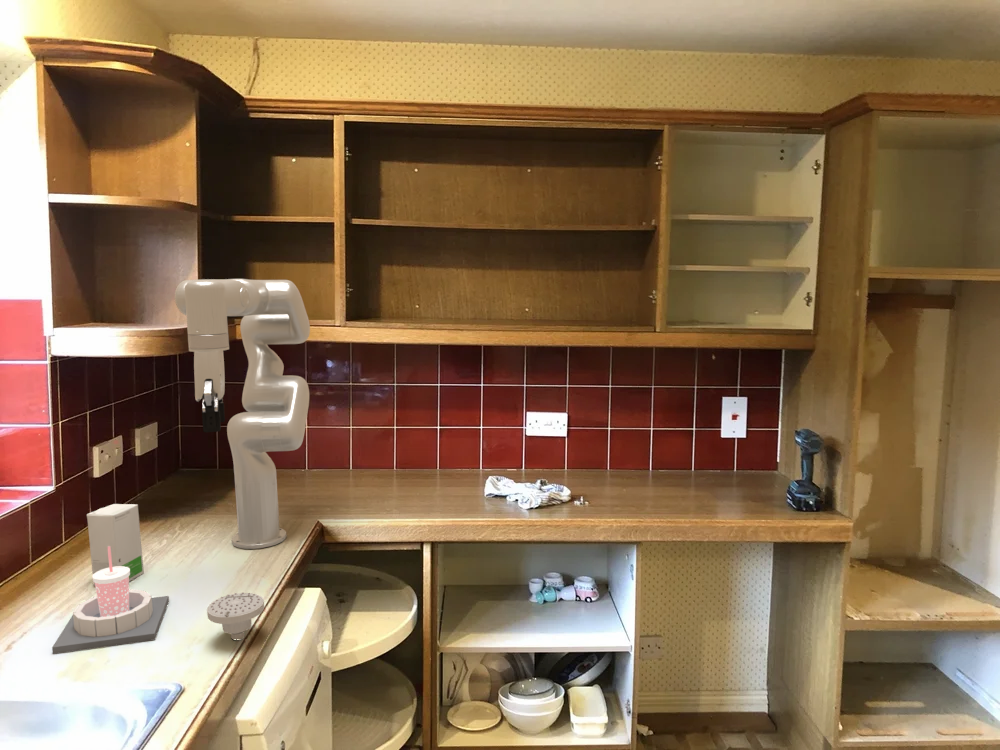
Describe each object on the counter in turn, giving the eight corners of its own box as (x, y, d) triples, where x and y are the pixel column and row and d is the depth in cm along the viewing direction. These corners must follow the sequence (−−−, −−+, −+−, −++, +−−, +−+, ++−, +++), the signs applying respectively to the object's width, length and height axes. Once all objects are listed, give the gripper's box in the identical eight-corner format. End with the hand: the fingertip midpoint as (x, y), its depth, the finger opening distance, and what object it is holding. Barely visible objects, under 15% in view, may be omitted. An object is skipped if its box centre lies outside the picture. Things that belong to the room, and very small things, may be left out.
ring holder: (78, 612, 139) (76, 592, 139) (169, 601, 144) (167, 581, 143) (52, 654, 124) (50, 630, 123) (155, 639, 128) (153, 617, 128)
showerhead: (196, 613, 122) (217, 588, 132) (199, 654, 123) (220, 625, 133) (253, 612, 123) (269, 586, 132) (255, 652, 124) (272, 624, 133)
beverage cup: (102, 613, 136) (95, 542, 134) (137, 609, 137) (131, 538, 135) (91, 628, 130) (84, 554, 128) (129, 624, 131) (122, 550, 130)
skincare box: (118, 588, 150) (112, 516, 148) (90, 586, 151) (83, 514, 149) (145, 572, 158) (139, 503, 156) (118, 570, 159) (112, 502, 157)
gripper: (193, 340, 152) (199, 420, 155) (182, 347, 136) (189, 437, 138) (231, 338, 154) (236, 417, 157) (225, 346, 138) (231, 434, 140)
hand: (214, 426), depth 147 cm, fingers open, 9 cm apart
